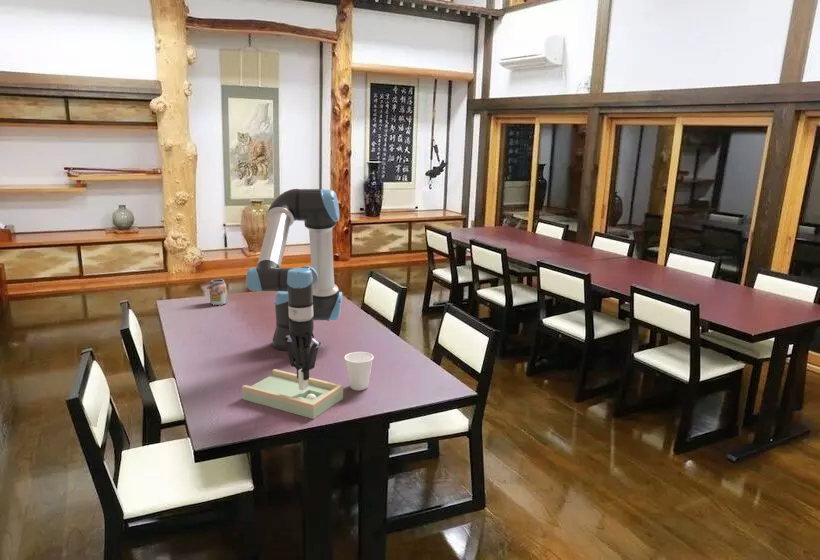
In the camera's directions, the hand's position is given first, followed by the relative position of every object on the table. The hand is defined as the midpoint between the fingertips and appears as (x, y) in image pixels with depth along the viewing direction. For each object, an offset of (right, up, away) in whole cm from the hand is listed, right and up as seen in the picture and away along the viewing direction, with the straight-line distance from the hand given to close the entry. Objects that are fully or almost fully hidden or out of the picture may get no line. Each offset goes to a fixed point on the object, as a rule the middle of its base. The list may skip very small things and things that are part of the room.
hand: (303, 388), depth 185 cm
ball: (+3, -3, -1) cm, 4 cm away
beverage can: (-62, +23, +106) cm, 125 cm away
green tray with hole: (-4, -4, +3) cm, 6 cm away
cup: (+17, -2, +13) cm, 21 cm away
